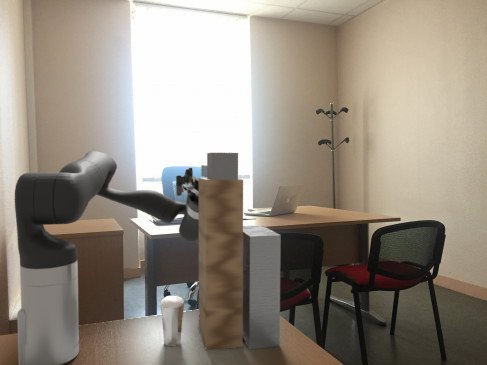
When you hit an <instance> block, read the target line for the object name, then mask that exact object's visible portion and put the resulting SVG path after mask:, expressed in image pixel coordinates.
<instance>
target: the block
mask: <svg viewBox="0 0 487 365" xmlns="http://www.w3.org/2000/svg"><path fill="white" fill-rule="evenodd" d="M206 163H207V164H203V165H202V164H201V167H200V169H201V177H202V178H207V179H210V180H238V179H239V152H207V153H206Z"/></svg>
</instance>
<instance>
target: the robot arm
mask: <svg viewBox="0 0 487 365" xmlns="http://www.w3.org/2000/svg"><path fill="white" fill-rule="evenodd" d="M117 168H118V166H117V162H116V161H115V159H114V158H113V157H111V156H110V155H109V154H107V153H105V152H102V151H97V150H92V151H88V152H86V153H85V155H84V156H83V157H81V158H79V159H77V160H75V161H72V162H69V163H67V164H66V165H65V166H63V167H62V168H61V169H60V170H59V171H58V172H26V173H23V174H21V175H20V176H19V177H18V179H17V181H16V184H15V189H14V211H15V212H14V213H15V221H16V234H17V235H16V236H17V248H18V255H19V265H20V266H19V274H20V275H19V276H20V280H19V282H20V308H19V310H18V311H17V315H16V319H17V348H18V349H17V352H18V356H17V357H18V365H64V364H66V363H68V362H70V361H72V360H73V359H75V358H76V357H77V356H78V354H79V352H80V337H79V336H80V335H79V333H80V329H79V328H80V327H79V326H80V325H79V276H78V275H79V271H78V270H79V269H78V248H77V246H76V244H74V243H73V242H72V241H68V240H65V239H62V238H59V237H57V236H54V235H53V234H52V233H50V232H49V231H47V230H46V228H45V226H44V225H46V226H47V225H68V224H69V225H70V224H73V223H75V222H76V223H77V221H79V220H80V219H81V217H82V216H83V215H84V213H85V211H86V209H87V207H88V205H89V203H90V201H91V200H92V199H93V198H95V196H99V197H101V198H105V199H107V200H109V201H113V202H115V203H118V204H120V205H124V206H127V207H130V208H133V209H135V210H138V211H141V212H143V213H145V214H147V215H149V216H151V217H153V218H155V219H157V220H158V221H161V222H163V223H166V224H171V223H172V222H173V221H174V220H175V219H176V217H177V216H179V215H183V217H182V219H181V223H180V224H179V228H178V232H179V236H180V237H181V238H182V239H183V240H185V241H187V242H189V243H195V242H197V241H198V242H199V178H197V177H196V176H194V174H193V167H192V166H190V167H188V169H185V172H184V175H183V176H182V175H176V176H175V187H176V188H175V190H176V191H175V192H176V196H178V197H179V196H182V195H183V194H185V193H187V196H186V201H185V202H181V201H178V200H174V198H171V197H169V196H167V195H165V194H162V192H158V191H156V190H152V189H151V190H150V189H141V190H140V189H139V190H120V189H119V190H118V189H116V188H112V187H109V185H110V183H111V182H112V180H113V177H114V175H115V173H116V171H117Z"/></svg>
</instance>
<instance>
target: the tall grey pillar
mask: <svg viewBox="0 0 487 365" xmlns="http://www.w3.org/2000/svg"><path fill="white" fill-rule="evenodd" d="M281 240H282V238H281V234H279V233H277V232H275V231H274V230H271V229H270V228H268V227H266V226H264V225H262V224H260V225H259V224H258V225H257V224H256V225H243V319H242V340H243V341H244V343H245V344H246V345H247V348H248V349H249V350H257V349H265V348H266V349H267V348H274V347H280V346H281V344H280V338H281V336H280V335H281V328H280V327H281V326H280V324H281V319H280V318H281V252H282V251H281V249H282V248H281V243H282V242H281Z"/></svg>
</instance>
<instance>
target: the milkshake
mask: <svg viewBox="0 0 487 365" xmlns="http://www.w3.org/2000/svg"><path fill="white" fill-rule="evenodd" d="M187 297H188V293H187V294H186V295H185V299H183V298H182V297H181V296H178V295H167V296H165V297H163V298H162V300H161V301H160V311H161V322H162V332H163V333H162V334H163V335H162V336H163V344H164V346H166V347H171V348H172V347H173V348H174V347H177V346H179V345H180V344H181V343H182V342H181V341H182V327H183V317H184V311H185V310H184V308H185V301H186V298H187Z"/></svg>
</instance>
